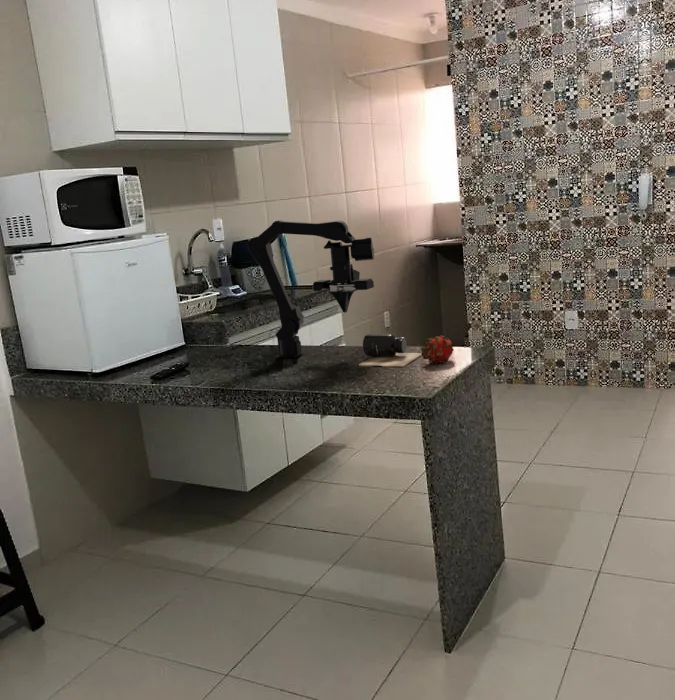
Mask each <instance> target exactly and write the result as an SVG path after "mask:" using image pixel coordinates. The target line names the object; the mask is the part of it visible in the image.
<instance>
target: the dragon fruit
mask: <svg viewBox="0 0 675 700" xmlns="http://www.w3.org/2000/svg"><path fill="white" fill-rule="evenodd" d="M420 350H421V353H422V356H421V357H422V358H423V360H428V362H430V364H432V365H437V364H438V363H442V364H443V363H445V364H446V363H447V362H449V359H450V357H451V356H452V355H453V351H454V347H453V346H452V341H451V340H450V338H446V337H445V336H444V335H442V334H441V335H439V336H437V335H434V336H433V337H430V338H426V339H425V340H424V341H422V347H421V348H420Z"/></svg>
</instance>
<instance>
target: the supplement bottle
mask: <svg viewBox="0 0 675 700" xmlns="http://www.w3.org/2000/svg"><path fill="white" fill-rule="evenodd" d="M362 351H363V354H364V356H365V357H370V358H371V357H392V356H394V355H396V353H406V351H407V341H406V338H405V336H398V337H397V335H395V334H394V333H367V334H365V336H364V337H363V340H362Z"/></svg>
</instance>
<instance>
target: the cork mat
mask: <svg viewBox="0 0 675 700" xmlns="http://www.w3.org/2000/svg"><path fill="white" fill-rule="evenodd" d="M420 357H423V356H422V352H405V353H396V355H394V356H392V357H370V358H368V359H365V360H364V361H362V362H361V363H359V364H358V365H359V366H358V367H373V366H382V368H405V367H407V366H408V365H409V364H411V363H412V362H414V361H416V360H417V359H418V358H420Z"/></svg>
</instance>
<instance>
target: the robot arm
mask: <svg viewBox="0 0 675 700" xmlns="http://www.w3.org/2000/svg"><path fill="white" fill-rule="evenodd" d="M282 234H285V235H299V236H300V235H302V236H316V237H320V238H323V239H327V240H328V241H327V242H326V244H325V245H324V246H323V249H325V250H326V249H327V250H328V249H330V259H331V261H330V262H331V266H330V267H329V269H330V271H332V279H320V280H316V281H314V282H313V283H312V291H313V292H322V291H323V290H324V289H330V291H329V293H328V294H331V295H332V296H333V298H334V299H335V301H336V302H337V303H338V305H339V307H340V308H341V311H342V312H343V313H347V312H348V309H349V306H350V303H351V302H350V301H351V298H352V296H353V294H354V293H355V292H357V291H365V290H366V291H367V290H369V289H373V288H374V287H375V283H374V280H373V279H372V278H360V275H361V274H360V273H361V272H360V271H358V270H357V269H354V267H353V264H352V263H351V259H354V261H355V262H361V261H362V262H365V261H374V260H375V248H374V245H373V238H372V237H365V238H358V239H357V238H355V237H354V235H352V234H351V232H350V231H349V226H348V225H347V223H346V222H345V221H343V220H334V221H324V222H317V223H316V222H301V221H299V222H298V221H286V220H285V221H284V220H280V219H279V220H275V221H273V222H272V224H271V225H269V226H268V227H267V228H266V229H265V230H264V231H262V233H259V235H258V236H254V237H252V238H250V240H249V241H248V243H247V250H248V252H249V254H250V255H251V257H252V258H253V260H254V261H255V262H256V263H257V264H258V266H260V268H261V270H262V272H263V274H264V277H265V279H266V282H267V284H268V286H269V289H270V292H271V294H272V296H273V298H274V300H275V302H276V304H277V305H276V306H277V307H278V312H279V313H278V314H279V319H280V325H281V327H280V328H279V329H278V331H277V332H276V333H275V336H276V338H277V349H278V355H277V356H276V358H277V359H294V358H293V357H295V358H297V357H299V356H300V355H299V354H301V355H303V354H304V352H303V351H302V343H301V340H300V337H299V335H298V333H299V330H301V328H302V327H303V325H304V323H305V322H304V318H305V315H303V313H302V310H301V307H300V305H297V306H295V304H293V303H292V301H291V299H290V297H289V294H288V291H287V289H286V287H285V286H284V285H285V284H284V283H283V280H282V277H281V276H280V273H279V270H278V268H277V266H276V264H275V262H274V253H273V248H272V244H273V243H274V242H275V241H276V240H277V239H278V237H280V236H281V235H282ZM331 240H332V241H335V242H332V241H331ZM302 353H303V354H302ZM298 355H299V356H298ZM296 356H297V357H296Z"/></svg>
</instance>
